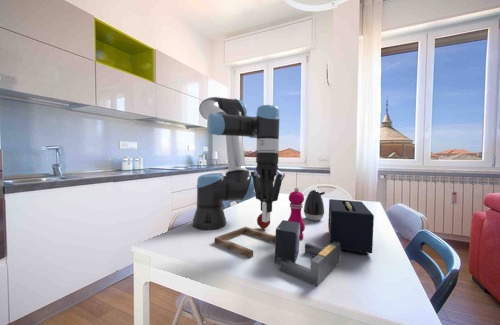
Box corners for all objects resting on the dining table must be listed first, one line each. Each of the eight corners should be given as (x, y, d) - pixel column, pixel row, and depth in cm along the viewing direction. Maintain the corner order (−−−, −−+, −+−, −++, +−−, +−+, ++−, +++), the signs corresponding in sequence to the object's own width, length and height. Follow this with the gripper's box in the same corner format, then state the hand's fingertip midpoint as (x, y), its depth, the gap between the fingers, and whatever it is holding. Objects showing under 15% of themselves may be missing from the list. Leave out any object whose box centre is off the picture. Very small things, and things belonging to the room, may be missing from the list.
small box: (295, 267, 64) (296, 232, 63) (273, 263, 66) (274, 229, 66) (300, 252, 74) (301, 221, 73) (281, 249, 76) (281, 219, 76)
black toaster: (328, 231, 95) (329, 197, 95) (360, 235, 91) (362, 199, 91) (330, 252, 75) (331, 208, 74) (372, 258, 71) (374, 212, 70)
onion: (271, 228, 98) (271, 210, 97) (268, 232, 92) (268, 213, 92) (258, 226, 99) (259, 208, 99) (255, 230, 94) (255, 212, 94)
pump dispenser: (327, 222, 107) (328, 191, 107) (306, 222, 107) (307, 191, 107) (320, 216, 117) (321, 188, 117) (301, 216, 117) (302, 188, 117)
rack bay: (279, 270, 62) (280, 249, 61) (306, 251, 75) (307, 233, 74) (317, 286, 55) (318, 262, 54) (339, 262, 68) (340, 242, 67)
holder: (214, 243, 80) (214, 237, 80) (245, 231, 93) (245, 226, 93) (250, 258, 69) (250, 252, 69) (279, 242, 82) (279, 237, 82)
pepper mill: (304, 242, 83) (306, 189, 82) (285, 240, 84) (287, 188, 83) (304, 235, 90) (305, 186, 89) (286, 233, 91) (287, 185, 90)
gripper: (245, 151, 76) (244, 219, 76) (277, 151, 67) (276, 227, 68) (258, 152, 81) (257, 215, 82) (289, 152, 73) (288, 222, 73)
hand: (266, 220), depth 75 cm, fingers closed
